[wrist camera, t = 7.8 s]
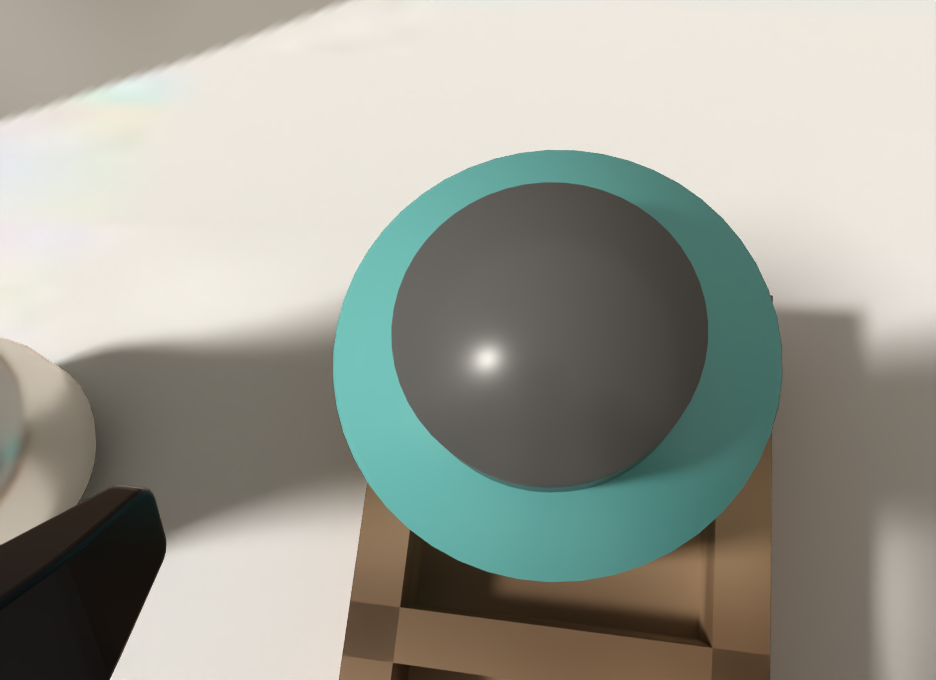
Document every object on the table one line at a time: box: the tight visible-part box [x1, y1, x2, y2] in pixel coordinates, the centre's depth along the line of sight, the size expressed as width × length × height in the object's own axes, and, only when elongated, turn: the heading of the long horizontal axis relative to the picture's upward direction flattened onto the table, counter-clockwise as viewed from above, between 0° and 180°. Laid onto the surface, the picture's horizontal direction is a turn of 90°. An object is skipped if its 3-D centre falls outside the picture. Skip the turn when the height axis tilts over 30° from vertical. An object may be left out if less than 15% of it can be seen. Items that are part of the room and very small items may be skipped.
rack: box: [339, 295, 773, 680], centre depth 18 cm, size 18×9×3 cm, turn 173°
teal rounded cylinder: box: [333, 150, 782, 582], centre depth 13 cm, size 4×4×14 cm
